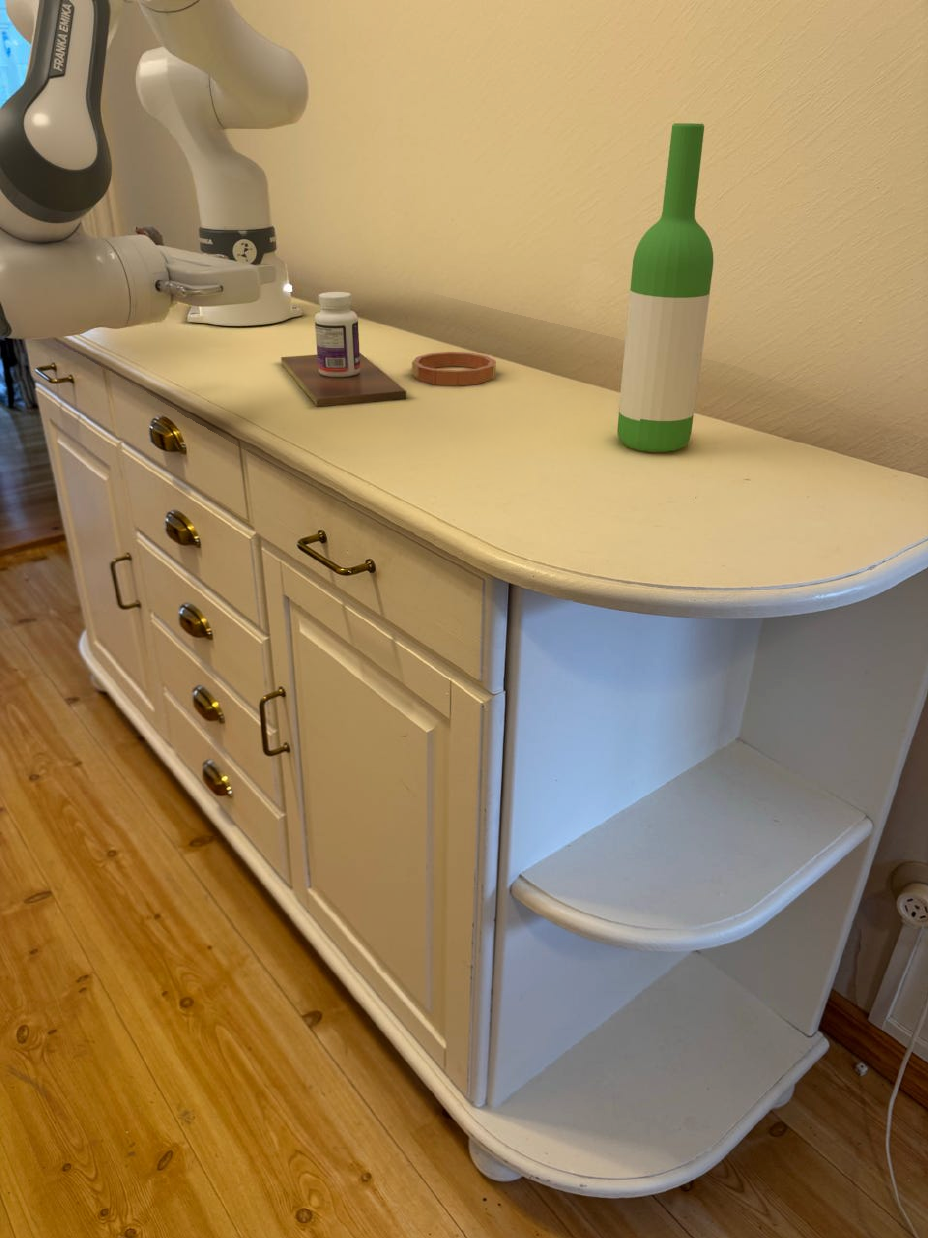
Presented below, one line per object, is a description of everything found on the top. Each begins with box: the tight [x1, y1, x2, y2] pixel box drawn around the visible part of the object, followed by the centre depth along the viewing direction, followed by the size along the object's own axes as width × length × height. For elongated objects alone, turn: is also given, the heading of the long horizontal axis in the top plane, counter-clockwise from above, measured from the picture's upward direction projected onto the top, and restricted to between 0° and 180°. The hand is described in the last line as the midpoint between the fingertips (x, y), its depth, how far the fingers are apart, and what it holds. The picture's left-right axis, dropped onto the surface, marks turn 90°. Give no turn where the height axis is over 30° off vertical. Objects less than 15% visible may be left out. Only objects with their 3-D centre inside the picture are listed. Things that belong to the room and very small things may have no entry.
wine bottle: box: [616, 122, 714, 453], centre depth 91 cm, size 8×8×30 cm
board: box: [280, 352, 407, 408], centre depth 120 cm, size 22×11×1 cm, turn 21°
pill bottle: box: [314, 291, 361, 378], centre depth 117 cm, size 5×5×10 cm
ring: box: [411, 351, 497, 387], centre depth 122 cm, size 11×11×2 cm
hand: (248, 267), depth 105 cm, fingers open, 8 cm apart
